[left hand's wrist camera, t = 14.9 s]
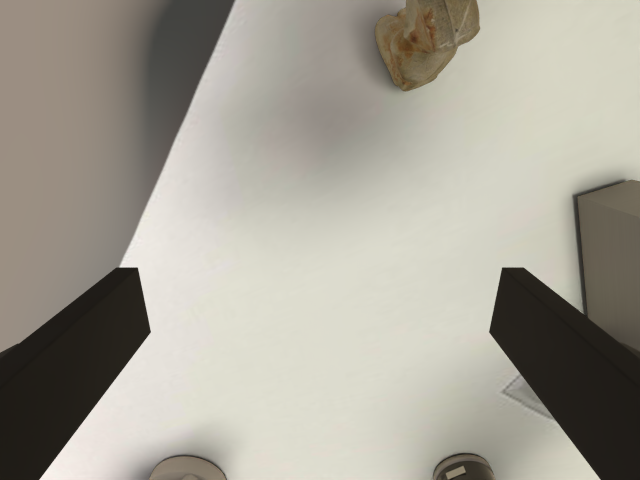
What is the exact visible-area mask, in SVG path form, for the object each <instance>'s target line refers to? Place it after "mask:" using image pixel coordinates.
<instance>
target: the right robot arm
mask: <svg viewBox="0 0 640 480" xmlns="http://www.w3.org/2000/svg"><path fill="white" fill-rule="evenodd" d="M434 480H495V478H494V475H493V472H492V470H491V468H490V466H489V464H488V462H487V461H486V460H484V459H483V458H481V457H479V456H476V455H470V454H463V455H456V456H453V457H450V458H448V459H446V460H445V461H443V462H442V463H441V464H439V466H438V467H437V468H436V470H435V472H434Z"/></svg>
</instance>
